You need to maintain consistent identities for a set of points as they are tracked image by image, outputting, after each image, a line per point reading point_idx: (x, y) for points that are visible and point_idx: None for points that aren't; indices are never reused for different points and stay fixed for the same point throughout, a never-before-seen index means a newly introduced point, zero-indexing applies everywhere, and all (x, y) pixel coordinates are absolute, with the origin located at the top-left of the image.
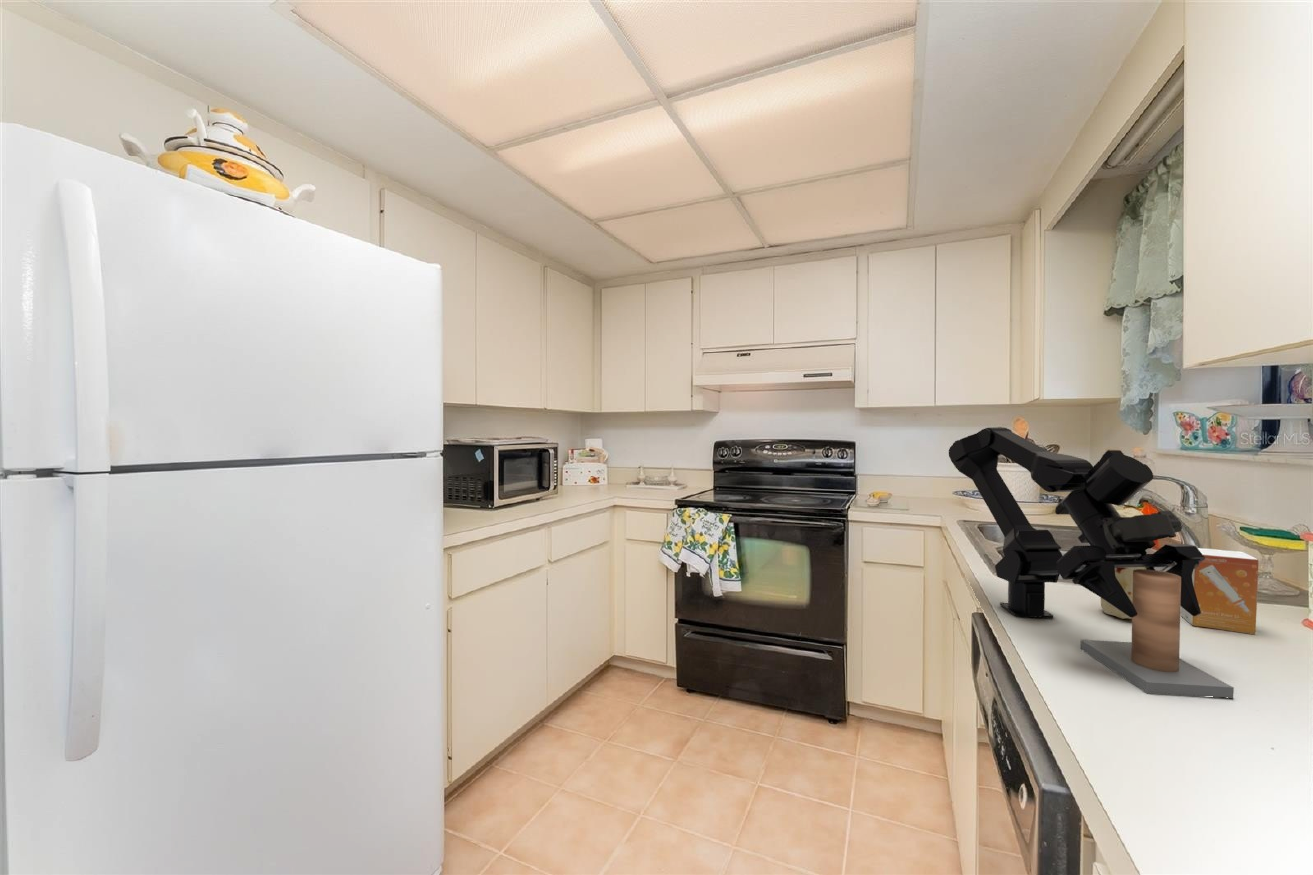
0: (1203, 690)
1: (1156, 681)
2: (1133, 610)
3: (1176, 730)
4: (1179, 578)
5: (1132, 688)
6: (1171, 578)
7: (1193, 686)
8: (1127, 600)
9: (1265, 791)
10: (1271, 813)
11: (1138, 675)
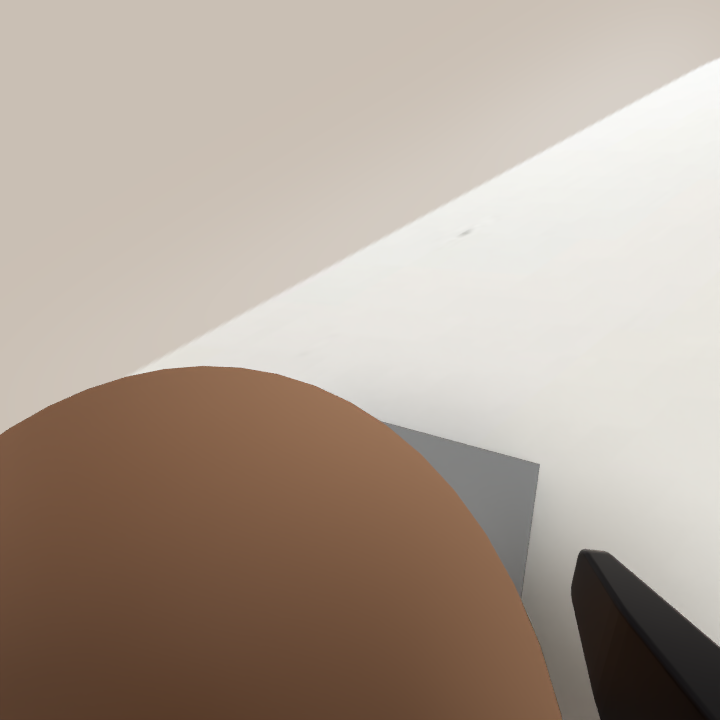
0: None
1: (500, 463)
2: (621, 565)
3: (624, 299)
4: (101, 386)
5: (549, 511)
6: (214, 412)
7: (395, 425)
8: (681, 642)
9: (629, 144)
10: (676, 109)
11: (525, 516)
